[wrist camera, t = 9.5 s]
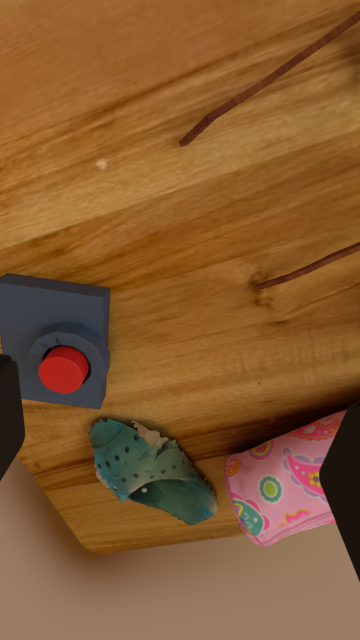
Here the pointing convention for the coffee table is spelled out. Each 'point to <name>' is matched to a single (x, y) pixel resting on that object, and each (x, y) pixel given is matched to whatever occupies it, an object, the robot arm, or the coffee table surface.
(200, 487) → the teal shoe
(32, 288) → the button box
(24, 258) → the coffee table surface
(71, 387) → the button
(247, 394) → the coffee table surface
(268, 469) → the pencil case
